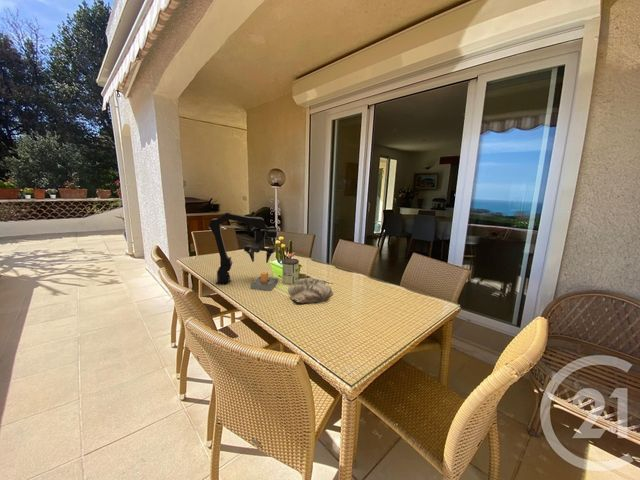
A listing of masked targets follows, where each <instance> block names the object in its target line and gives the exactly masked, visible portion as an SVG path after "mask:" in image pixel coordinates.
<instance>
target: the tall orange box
mask: <svg viewBox="0 0 640 480" xmlns="http://www.w3.org/2000/svg"><path fill="white" fill-rule="evenodd" d="M260 276H261V282H265V283H267V282H268V277H269V272H267V271H262V272H261V273H260Z"/></svg>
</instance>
